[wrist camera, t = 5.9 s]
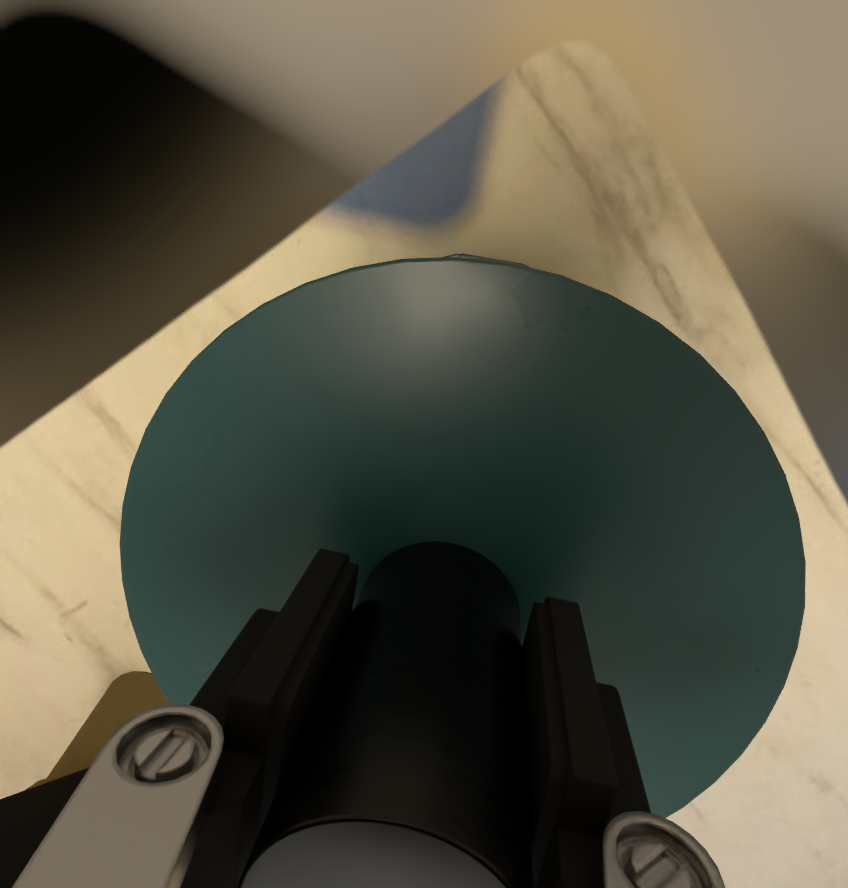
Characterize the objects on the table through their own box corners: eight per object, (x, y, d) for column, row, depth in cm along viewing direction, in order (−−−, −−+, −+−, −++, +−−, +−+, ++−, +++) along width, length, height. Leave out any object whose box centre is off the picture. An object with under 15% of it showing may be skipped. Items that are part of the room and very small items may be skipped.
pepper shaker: (140, 754, 43) (25, 911, 33) (90, 690, 42) (-46, 832, 31) (205, 726, 42) (106, 882, 31) (154, 659, 40) (34, 797, 30)
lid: (35, 494, 14) (-429, 729, 7) (543, 90, 10) (629, -268, 3) (382, 889, 16) (294, 1356, 9) (897, 677, 12) (1381, 1192, 6)
